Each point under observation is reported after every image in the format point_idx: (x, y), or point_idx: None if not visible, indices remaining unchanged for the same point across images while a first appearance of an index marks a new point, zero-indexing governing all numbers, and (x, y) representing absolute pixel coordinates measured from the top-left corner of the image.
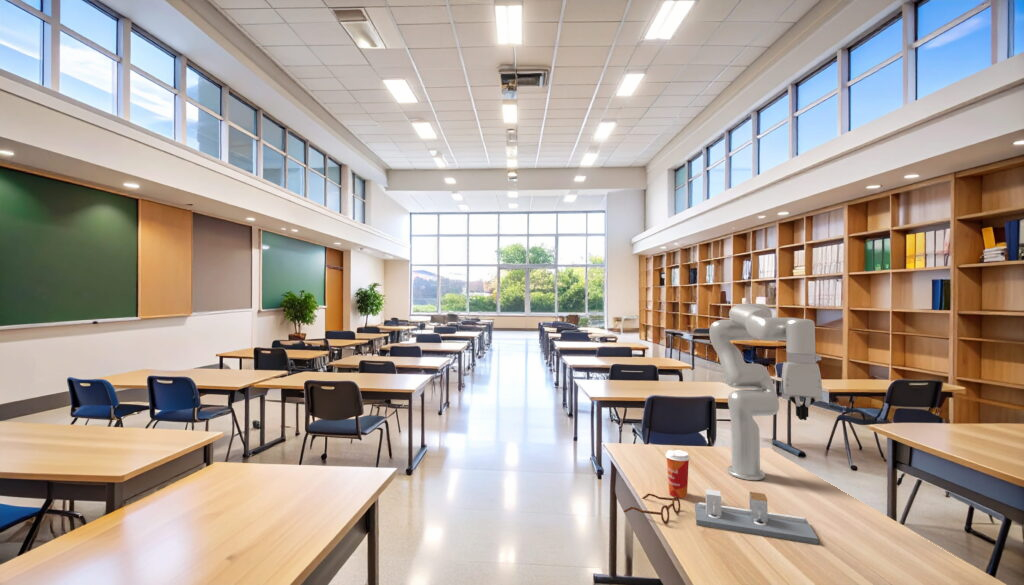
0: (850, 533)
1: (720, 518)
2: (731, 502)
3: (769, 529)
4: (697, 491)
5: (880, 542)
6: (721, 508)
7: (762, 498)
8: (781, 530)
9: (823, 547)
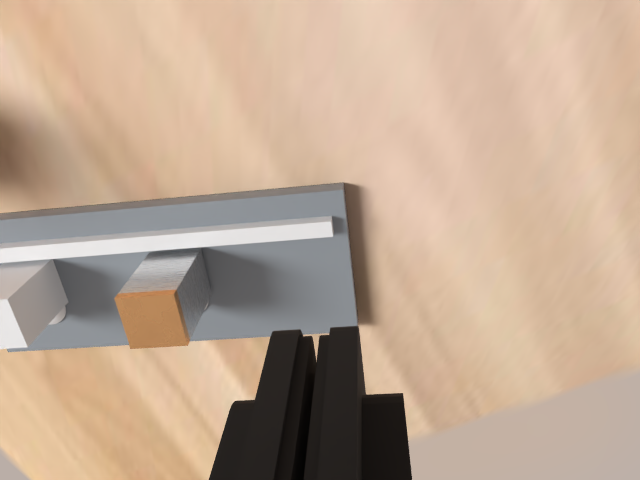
0: (487, 196)
1: (69, 315)
2: (66, 100)
3: (219, 328)
4: None
5: (568, 225)
6: (51, 257)
7: (170, 343)
8: (254, 321)
9: (370, 330)
